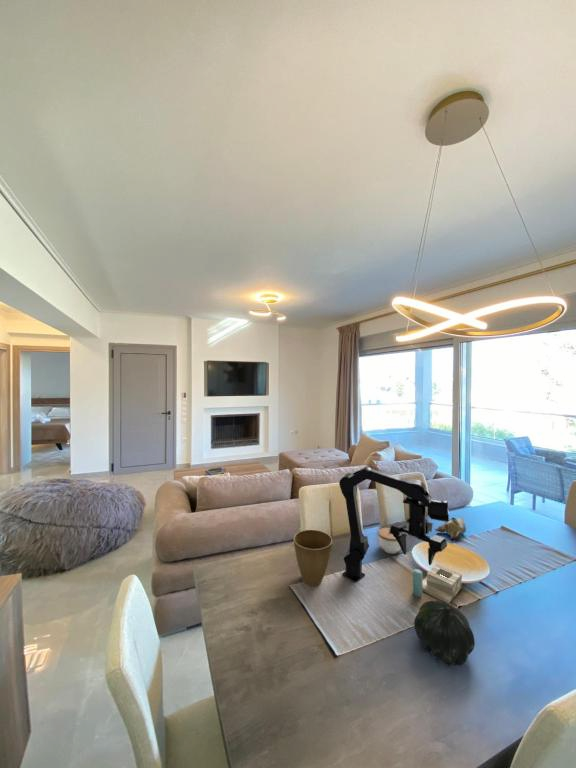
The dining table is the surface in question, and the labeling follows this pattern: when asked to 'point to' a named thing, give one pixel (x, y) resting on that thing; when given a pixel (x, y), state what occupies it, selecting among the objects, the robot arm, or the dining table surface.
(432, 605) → the squash
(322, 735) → the dining table surface
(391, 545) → the lidded jar
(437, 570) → the socket board
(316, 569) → the plant pot
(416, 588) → the peg
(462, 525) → the ceramic sculpture
